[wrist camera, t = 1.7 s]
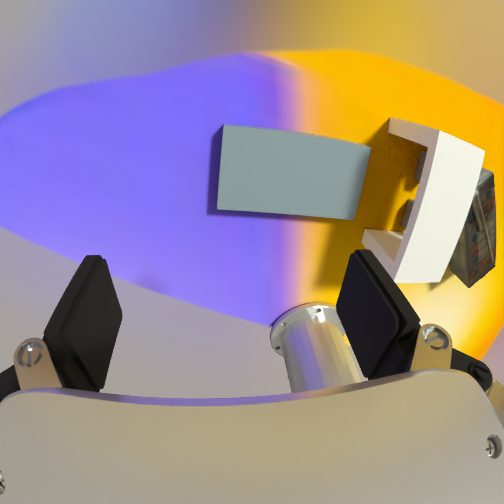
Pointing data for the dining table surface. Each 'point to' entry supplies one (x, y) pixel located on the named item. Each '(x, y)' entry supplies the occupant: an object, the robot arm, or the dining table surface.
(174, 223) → the dining table surface
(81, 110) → the dining table surface
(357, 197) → the panel
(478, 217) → the beverage carton
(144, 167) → the dining table surface
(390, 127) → the shelf
